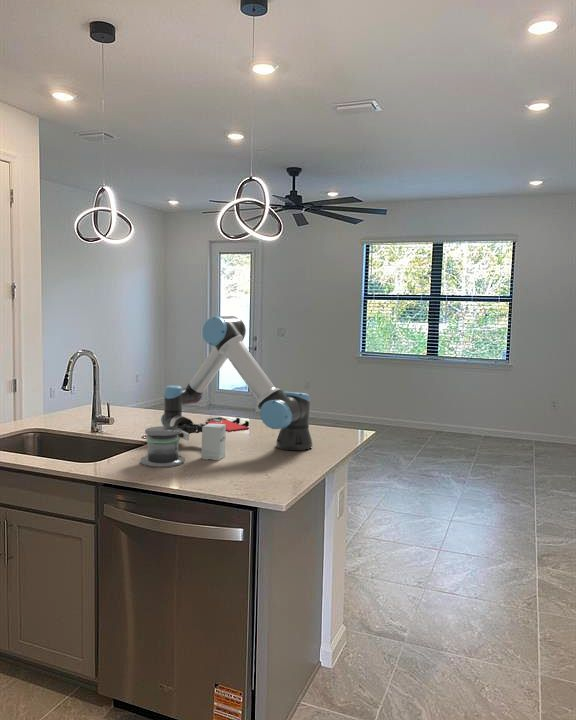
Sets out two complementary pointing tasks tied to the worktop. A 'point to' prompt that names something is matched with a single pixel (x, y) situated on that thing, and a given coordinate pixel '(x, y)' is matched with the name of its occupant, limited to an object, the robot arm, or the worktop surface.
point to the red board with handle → (230, 424)
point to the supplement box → (213, 441)
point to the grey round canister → (162, 447)
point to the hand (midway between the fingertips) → (204, 435)
